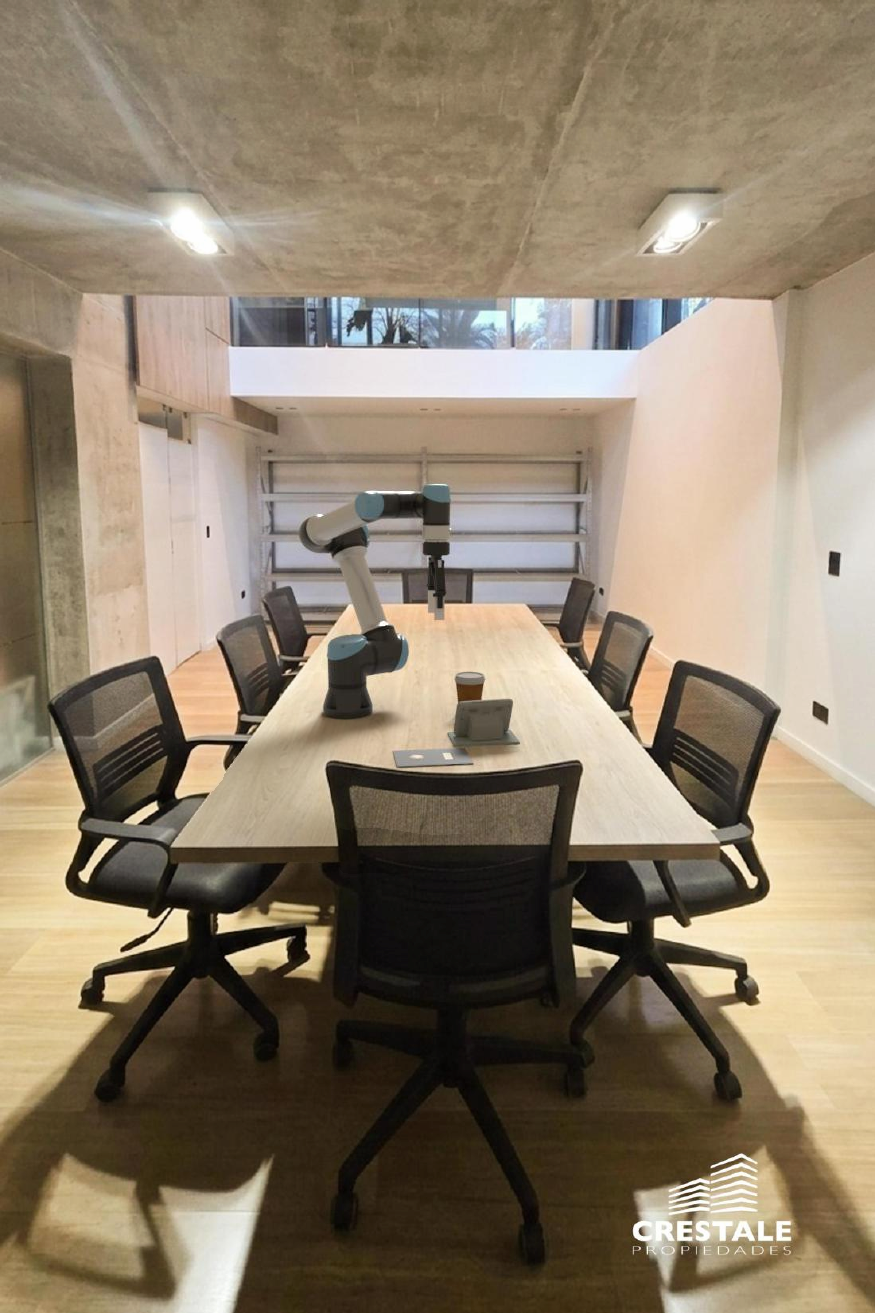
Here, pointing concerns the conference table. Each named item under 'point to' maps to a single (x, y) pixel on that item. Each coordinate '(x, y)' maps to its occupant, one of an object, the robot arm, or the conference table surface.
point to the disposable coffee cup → (469, 686)
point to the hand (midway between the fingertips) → (435, 616)
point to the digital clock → (483, 719)
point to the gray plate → (431, 757)
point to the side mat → (465, 741)
